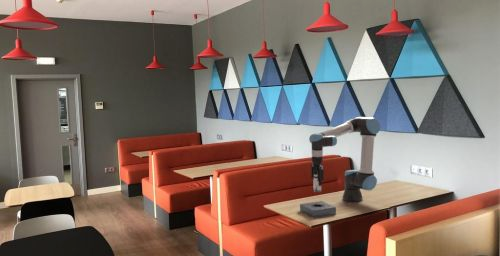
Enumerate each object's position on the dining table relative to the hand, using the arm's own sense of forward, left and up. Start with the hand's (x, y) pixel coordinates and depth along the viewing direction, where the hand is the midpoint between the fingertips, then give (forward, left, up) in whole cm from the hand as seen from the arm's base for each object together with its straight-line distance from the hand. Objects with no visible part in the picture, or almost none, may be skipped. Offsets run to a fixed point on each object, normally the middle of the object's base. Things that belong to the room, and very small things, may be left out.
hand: (317, 189), depth 284 cm
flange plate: (0, 0, -17) cm, 17 cm away
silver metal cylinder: (0, 0, -2) cm, 2 cm away
